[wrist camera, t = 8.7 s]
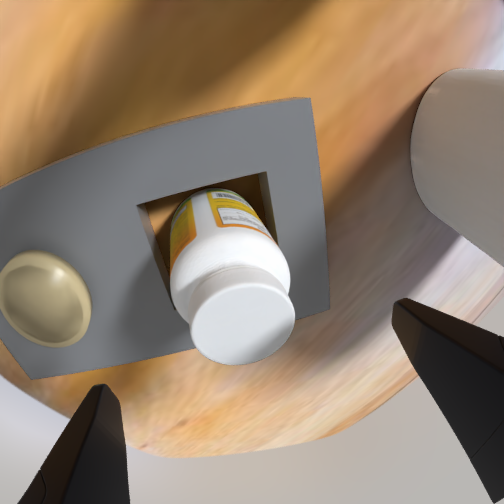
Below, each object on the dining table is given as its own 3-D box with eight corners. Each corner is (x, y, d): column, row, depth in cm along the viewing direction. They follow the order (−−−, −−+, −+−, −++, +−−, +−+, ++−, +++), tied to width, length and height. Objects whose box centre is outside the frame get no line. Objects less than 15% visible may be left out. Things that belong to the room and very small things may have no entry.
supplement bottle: (190, 277, 21) (206, 392, 13) (156, 206, 19) (143, 302, 10) (266, 247, 21) (323, 347, 13) (240, 173, 19) (295, 241, 10)
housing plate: (294, 97, 17) (322, 98, 14) (316, 289, 24) (339, 322, 21) (-43, 210, 15) (-73, 233, 11) (38, 358, 21) (27, 393, 18)
